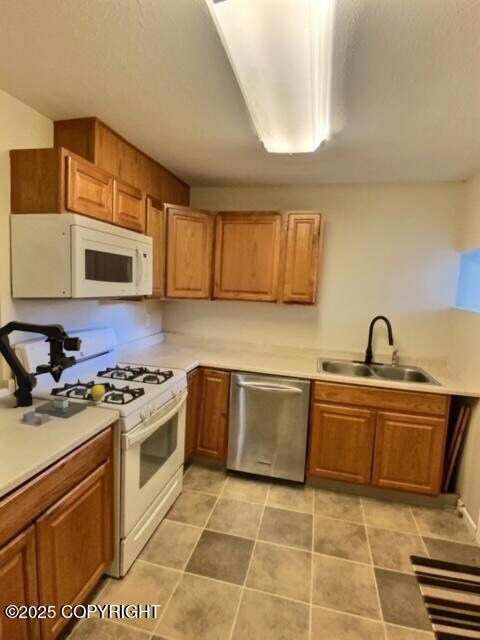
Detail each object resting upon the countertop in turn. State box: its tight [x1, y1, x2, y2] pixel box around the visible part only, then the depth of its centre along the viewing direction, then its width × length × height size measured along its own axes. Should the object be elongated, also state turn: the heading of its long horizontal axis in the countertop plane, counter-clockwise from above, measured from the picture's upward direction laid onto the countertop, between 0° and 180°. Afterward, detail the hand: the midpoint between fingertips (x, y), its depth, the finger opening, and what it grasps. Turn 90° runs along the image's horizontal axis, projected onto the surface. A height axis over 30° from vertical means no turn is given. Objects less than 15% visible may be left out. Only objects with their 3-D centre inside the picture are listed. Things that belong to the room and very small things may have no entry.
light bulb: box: [90, 384, 106, 406], centre depth 175 cm, size 7×7×10 cm
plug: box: [53, 395, 69, 409], centre depth 164 cm, size 5×3×7 cm, turn 74°
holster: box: [19, 410, 54, 428], centre depth 152 cm, size 10×8×4 cm
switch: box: [34, 399, 88, 419], centre depth 165 cm, size 18×12×3 cm, turn 73°
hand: (57, 382), depth 171 cm, fingers closed
